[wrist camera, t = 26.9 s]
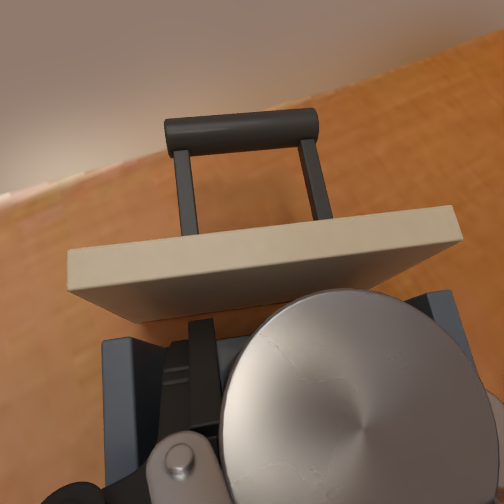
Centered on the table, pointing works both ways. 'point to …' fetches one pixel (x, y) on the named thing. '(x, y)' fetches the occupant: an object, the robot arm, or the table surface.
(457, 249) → the table surface
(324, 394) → the steel cylinder
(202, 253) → the drawer
